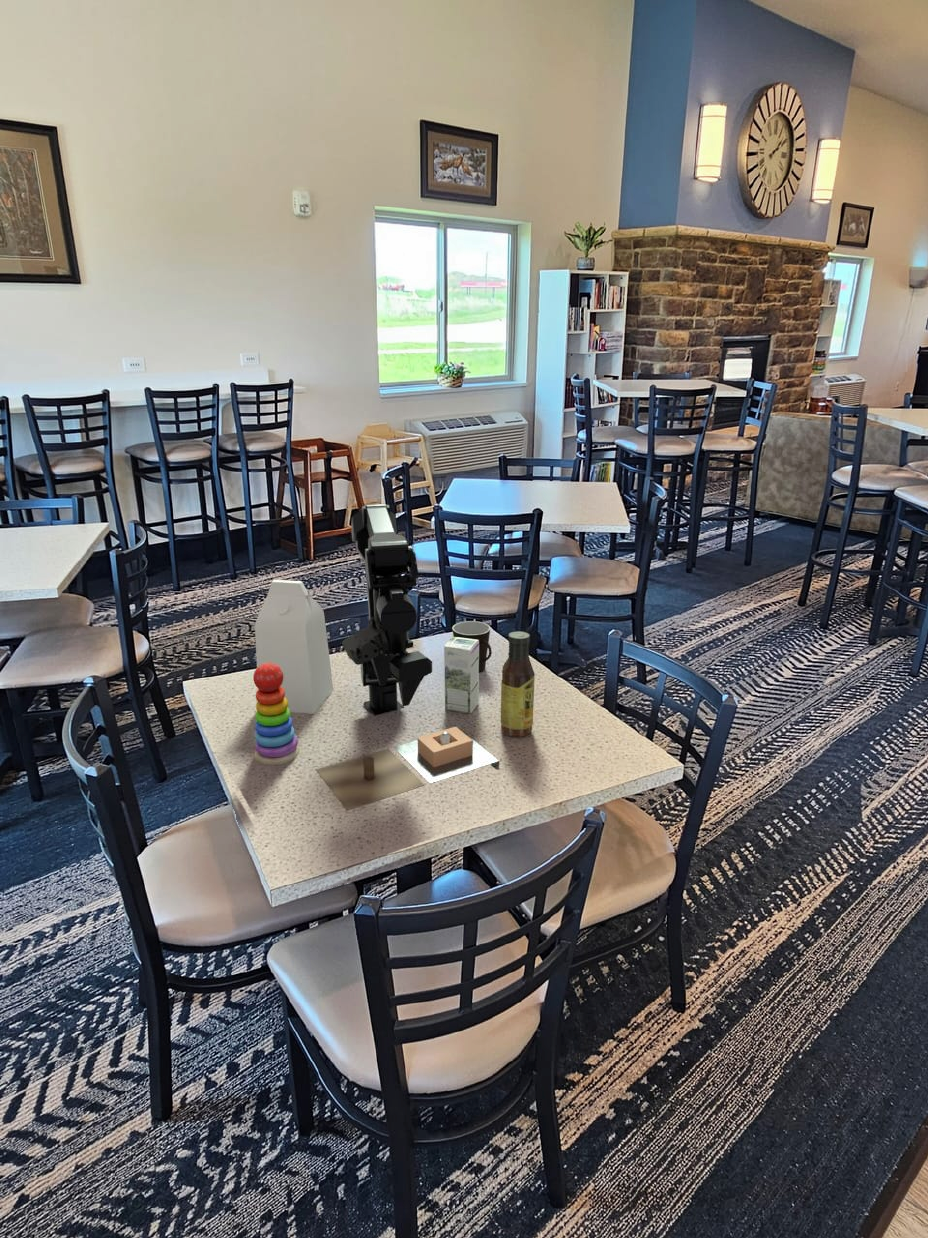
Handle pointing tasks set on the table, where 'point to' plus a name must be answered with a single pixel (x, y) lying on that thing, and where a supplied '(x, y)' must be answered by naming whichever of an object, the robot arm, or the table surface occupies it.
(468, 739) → the square tube wooden block
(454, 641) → the syrup box
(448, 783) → the table surface
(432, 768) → the hub base
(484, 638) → the coffee mug
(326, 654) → the milk
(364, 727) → the table surface
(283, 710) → the stacking toy
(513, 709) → the sauce bottle
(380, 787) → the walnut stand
